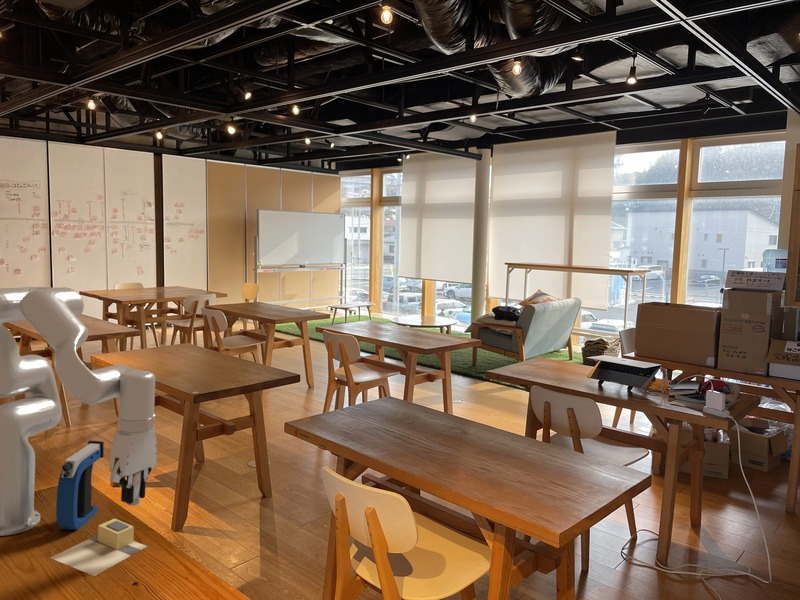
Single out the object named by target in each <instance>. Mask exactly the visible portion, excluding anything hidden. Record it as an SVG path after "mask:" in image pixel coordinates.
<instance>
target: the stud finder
mask: <svg viewBox="0 0 800 600" xmlns="http://www.w3.org/2000/svg"><path fill="white" fill-rule="evenodd" d="M97 527H98V528H97V535H98V541H99V542H101V543H103V544H105V545H107V546H109V547H112V548H114V549H116V550H118V549H120V548H122V547H124V546H126V545H129V544H131V543H133V541H134V536H135V532H134V531H135V525H134V526H133V525H131V524H129V523H126V522H124V521H123V520H122V521H121V520H119V519H118V518H112V519H109V520H108V521H106V522H103V523H101V524H98V526H97Z"/></svg>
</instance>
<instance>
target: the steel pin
mask: <svg viewBox="0 0 800 600" xmlns="http://www.w3.org/2000/svg"><path fill="white" fill-rule="evenodd" d="M140 485H141V471H139V472H137V473H134V474H133V479H132V487H134V496H133V503H131V504H129V503H126V504H127V505H128V506H137V505H139V504H140V501H141V498H140ZM127 505H126V506H127Z"/></svg>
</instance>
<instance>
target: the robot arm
mask: <svg viewBox="0 0 800 600" xmlns="http://www.w3.org/2000/svg"><path fill="white" fill-rule="evenodd" d="M84 304H85V303H84V299H83V298H82V296H81V295H80V293H79V292H78V291H77V290H74V289H73V288H70V287H52V286H51V287H47V286H46V287H44V286H24V287H23V286H22V287H5V288H4V287H1V288H0V399H3V398H4V399H5V398H6V399H7V398H9V397H10V398H11V397H15V396H19V395H23V394H25V397H26V398H21V399H18V400H14V401H11V402H7V403H4V404H1V405H0V536H3V537H4V536H10V535H11V536H12V535H17V534H20V533H24V532H26V531H29V530H30V529H33V528H35V526H38V524H39V523H40V522H41V514H40V512H38V511H37V510H35V509H34V508H35V507H34V506H35V501H34V500H35V484H36V483H35V478H36V475H35V474H36V452H35V449H34V448H33V446H32V445H31V444H30V442H29V437H32V436H34V435H37V434H39V433H43V432H46V431H49V430H51V429H53V428H55V427H56V426H58V424H60V422H61V419H62V416H63V415H62V414H63V410H62V403H61V399H60V394H59V390H58V386H57V381H56V378H55V373H54V369H53V368H52V365H51V364H50V363H49V361H48V360H47V359H46V358H45V357H43V356H41V355H39V354H26V355H25V354H24V355H20V352H19V349H18V343H17V341H16V339H15V337H14V335H13V334H12V332H11V331H9V329H8V328H6V327H5V326H4V324H5V323H15V322H21V321H23V322H24V321H28V322H29V323H30V325H31V326H32V327H33V328H34V329H35V330H36V331H37V332H38V333H39V335H40V336H41V337H42V338H43V339H44V340H45V341H46V342H47V343H48V345H50V347H51V348H52V349H53V351H54V359H53V361H54V367H55V371H56V374H57V378H58V380H59V382H60V383H61V384H62V385H63V386H64V388H65V389H66V390H67V391H68V392H69V394H71V395H72V396H73V398H75V399H77V400H78V401H79V402H81V403H83V404H86V405H95V404H98V403H99V404H100V403H103V402H105V401H109V400H112V399H115V398H118V399H119V400H118V402H119V403H118V428H117V431H114V432H115V433H114V436H113V439H112V443H111V451H110V459H109V472H110V473H111V474H110V476H109V480H108V481H110V482H112V483H117V484H118V485H119V486H121V493H120V500H121V502H122V503H126V504H127V503H129V504H131V503H133V496H134V487H132V479H133V474H134V473H137V472H139V471H141V485H140V499H144V498H145V497H146V482H147V481H148V480H149V475H150V474H151V472H152V470H153V469H154V468H155V467H156V466H157V464H158V461H157V450H158V447H157V445H158V444H157V434H156V428H155V426H154V421H155V420H156V415H155V401H156V398H155V395H156V376H155V374H154V373H153V372H152V371H149V370H142V369H139V370H138V369H134V368H132V367H130V366H127V365H123V364H114V365H110V366H107V367H106V366H105V367H100V368H97V369H93V370H90V369H89V368H88V367H87V365H86V364H85V363H84V362H83V361H82V360H81V358H80V357H79V355H78V353H77V350H78V349H80V348H81V347H82V346H83V344H85V342H86V341H87V339H88V337H89V335H90V332H89V328H88V327H87V326H86V325H85V324H84V323H83V322H82V321H81V320H80V318H79V317H80V316H81V315H82V313H83V312H84V308H85V305H84Z"/></svg>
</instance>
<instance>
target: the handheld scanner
mask: <svg viewBox="0 0 800 600" xmlns="http://www.w3.org/2000/svg"><path fill="white" fill-rule="evenodd" d="M104 445H105V444H104V441H100V440H88V442H87V445H86V446H84V447H83V448H81V449H79V450H78V451H77V452H75V453H74V454H72V455H70V456H69V457H68V458H66V459H65V460H64V461H63V465H62V466H61V469H62V470H61V472H60V475H59V477H58V481H57V482H58V483H57V492H56V507H55V509H56V510H55V512H56V513H55V515H56V516H55V517H56V523H57V526H58V528H59V529H61V530H74V531H78V530H80V529H81V528H82V527H83V526H84V525H85V524H87V522H88V521H89V520H91V519H92V517H93V516H95V515H96V513H98V512H99V506H97V505H92V491H93V490H92V489H93V488H92V487H93V486H92V474H93V473H92V472H93V467H94V463H96V462H97V461H99V459H100V458H104V457H105V454H104V453H105V451H104V449H105V447H104Z"/></svg>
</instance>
